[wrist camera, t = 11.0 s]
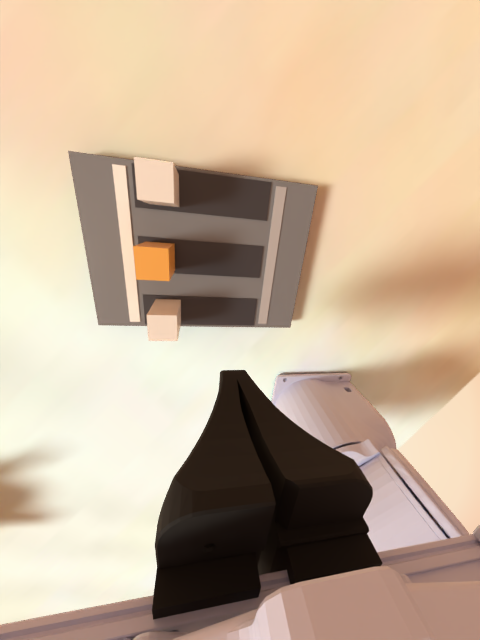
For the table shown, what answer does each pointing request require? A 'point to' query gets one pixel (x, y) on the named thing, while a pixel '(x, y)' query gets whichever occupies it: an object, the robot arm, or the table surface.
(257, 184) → the panel
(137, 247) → the breaker
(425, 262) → the table surface
